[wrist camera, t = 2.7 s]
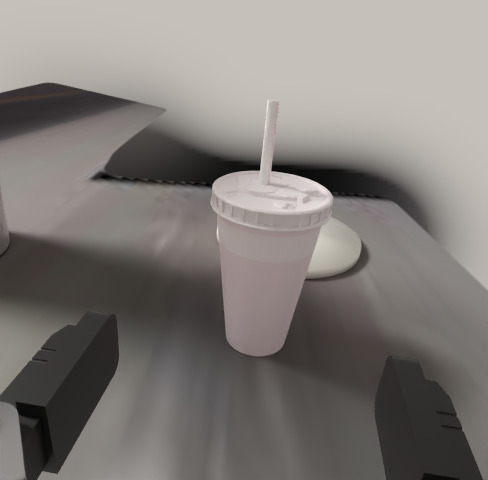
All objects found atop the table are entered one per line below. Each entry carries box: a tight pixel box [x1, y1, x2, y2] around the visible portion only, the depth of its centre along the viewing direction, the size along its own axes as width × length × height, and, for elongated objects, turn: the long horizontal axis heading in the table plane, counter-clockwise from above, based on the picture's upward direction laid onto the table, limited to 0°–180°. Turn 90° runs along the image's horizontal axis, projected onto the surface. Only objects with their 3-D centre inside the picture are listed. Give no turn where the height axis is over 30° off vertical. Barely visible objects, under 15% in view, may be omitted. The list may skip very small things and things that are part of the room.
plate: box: [217, 217, 361, 279], centre depth 38 cm, size 13×13×1 cm
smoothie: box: [210, 100, 333, 356], centre depth 23 cm, size 6×6×14 cm
